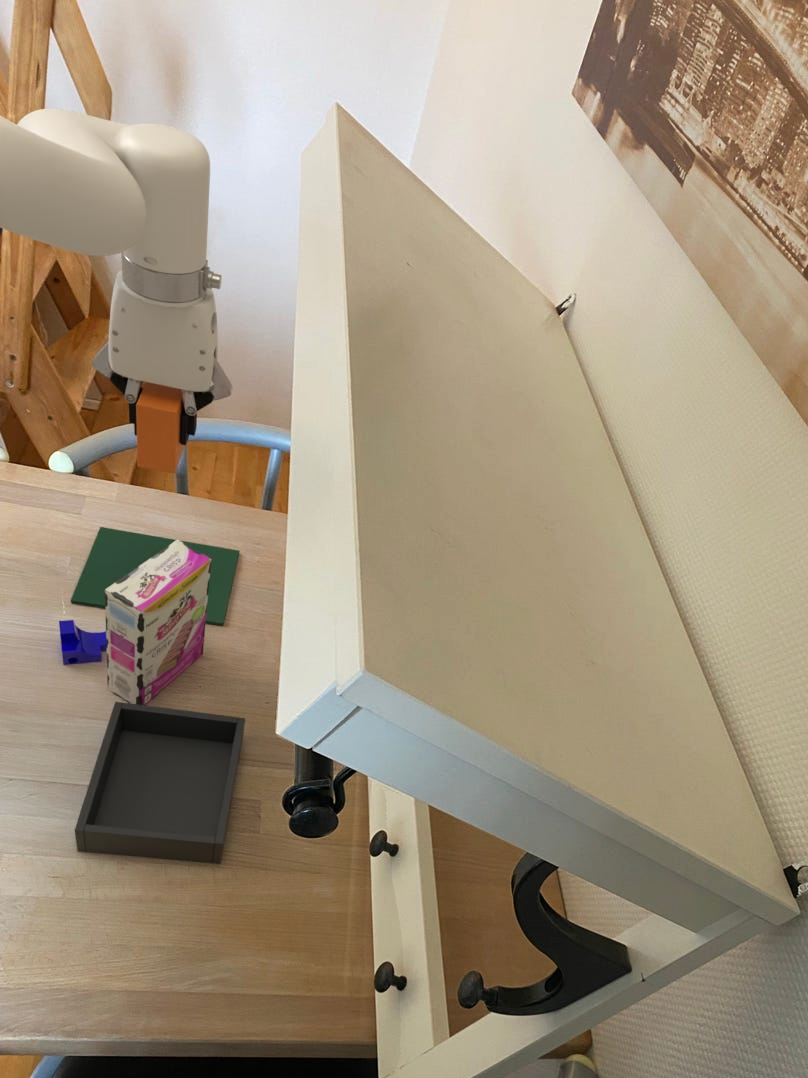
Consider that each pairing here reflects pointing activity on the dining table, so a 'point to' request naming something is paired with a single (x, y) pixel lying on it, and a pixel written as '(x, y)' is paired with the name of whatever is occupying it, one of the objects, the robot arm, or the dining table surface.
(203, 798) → the bin
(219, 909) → the dining table surface
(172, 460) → the orange block
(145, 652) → the candy bar box
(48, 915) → the dining table surface
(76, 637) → the cable holder
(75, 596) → the mat
